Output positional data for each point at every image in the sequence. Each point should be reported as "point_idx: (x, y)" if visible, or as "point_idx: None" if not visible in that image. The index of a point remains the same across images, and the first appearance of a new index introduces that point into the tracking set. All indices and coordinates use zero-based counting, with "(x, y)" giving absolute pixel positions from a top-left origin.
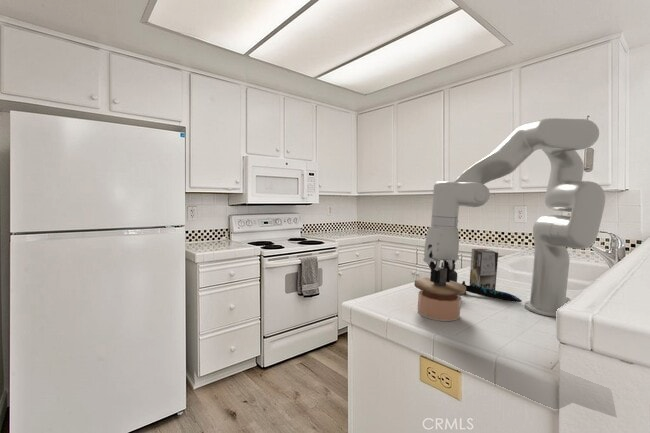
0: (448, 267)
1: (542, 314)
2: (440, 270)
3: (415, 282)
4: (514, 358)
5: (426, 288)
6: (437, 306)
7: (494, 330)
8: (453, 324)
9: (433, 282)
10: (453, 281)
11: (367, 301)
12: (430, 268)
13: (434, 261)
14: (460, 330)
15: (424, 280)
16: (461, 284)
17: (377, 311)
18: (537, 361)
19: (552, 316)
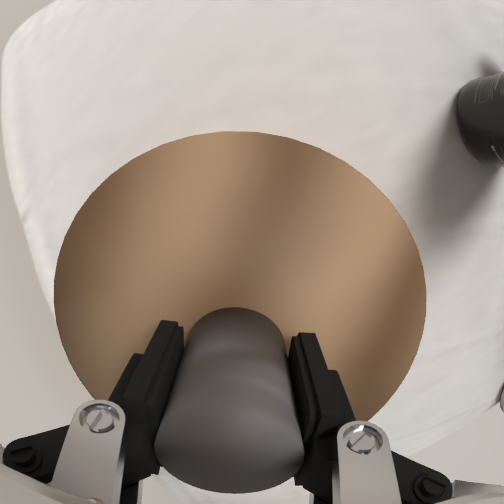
0: (312, 489)
1: (502, 393)
2: (176, 469)
3: (73, 229)
4: (188, 486)
5: (70, 360)
6: None
7: None
8: None
9: (230, 293)
10: (417, 330)
11: (70, 23)
12: (94, 408)
13: (119, 499)
14: None
15: (199, 209)
16: (386, 395)
17: (29, 136)
18: (220, 500)
19: (500, 405)
